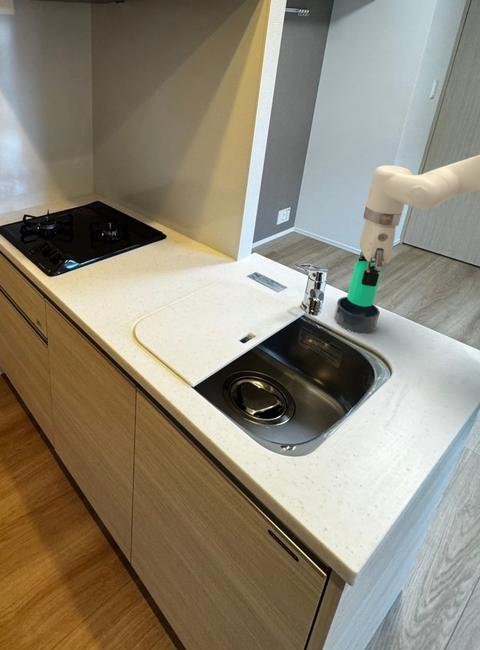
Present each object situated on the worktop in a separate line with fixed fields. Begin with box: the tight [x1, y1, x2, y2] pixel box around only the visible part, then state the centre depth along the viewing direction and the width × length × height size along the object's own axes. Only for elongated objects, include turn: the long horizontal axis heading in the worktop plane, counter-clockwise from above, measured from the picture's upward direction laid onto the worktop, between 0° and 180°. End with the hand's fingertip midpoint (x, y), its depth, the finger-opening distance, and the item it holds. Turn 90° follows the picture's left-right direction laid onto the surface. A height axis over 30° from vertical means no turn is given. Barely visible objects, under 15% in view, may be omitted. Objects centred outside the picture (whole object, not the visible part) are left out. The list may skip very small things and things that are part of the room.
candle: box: [346, 260, 383, 307], centre depth 109 cm, size 6×6×12 cm
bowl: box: [333, 296, 380, 335], centre depth 113 cm, size 10×10×5 cm
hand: (365, 278), depth 109 cm, fingers closed on candle, 5 cm apart
